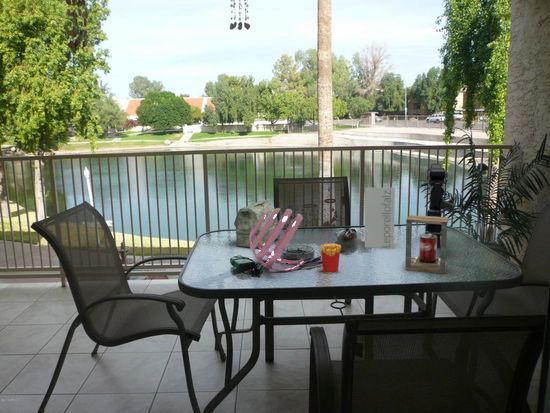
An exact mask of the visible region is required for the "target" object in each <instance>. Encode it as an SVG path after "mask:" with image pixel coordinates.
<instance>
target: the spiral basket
mask: <svg viewBox="0 0 550 413" xmlns="http://www.w3.org/2000/svg"><path fill="white" fill-rule="evenodd" d="M280 211H281V208H279V207H276V208H275V210H274V211H273V213H272V214H271V216H270V217H269V219H268V220H267V222H266V224H265V225H264V227H263V228H262V230H261V231H260V233H259V234H258V236H257V237H256V236H255V233H256V231H257V230H258V228H259V226H260V225H261V223H262V222H263V220H264V219H265V217H266V216H267V214H268V212H269V211H267V212H265V213H264V214H263V215H262V217H261V218H260V220H259V221H258V223H257V224H256V226H255V228H254V227H253V228H252V229H251V231H250V236H249V240H250V247H249V248H250V251H251V253H252V254H253V256H254V258H255V260H256V262H258V263H260V265H262V266H263V267H264V268H266V269H267V270H271V271H275V272H282V271H283V272H291V271H293V270H295V269H297V268H299V267H300V266H302V265H303V264H304V262H305V259H303V258H302V259H298V260H288V259H284V258H282V257H281V255H282V254H283V252H284V251H285V249H286V247H287V246H288V245H289V243H290V241H291V240H292V238H293V236H294V235H295V233H296V232H297V230H298V228H299V227H300V224H301V223H302V221H303V219H304V218H303V215H302V214H300V213H297V214H296V215H295V217H294V218H293V219H292V221H291V222H290V224H289V225H288V226H287V228H286V229H285V230H284V233H282V235H281V237H280V238H279V240H278V242H277V243H276V245H275V246H274V248H273V250H272V251H269V250H270V248H271V247H272V245H273V244H274V243H275V241H276V240H277V239H278V238H277V236H278V235H279V236H280V233H281V232H282V230H283V229H284V227H285V225H286V223H288V222H287V221H288V220H290V217H291V215H292V213H293V209H291V208H286V210H285V211H284V212H283V214H282V215H281V216H280V218H279V220H278V223H277V224H276V226H275V227H274V229H273V230H272V232H271V233H270V235H269V237H268V238H267V240H266V241H265V243H264V244H263V245H261V244H260V241H261V239H262V237H263V236H264V234H265V233H266V231H267V230H268V228H269V227H270V225H271V224H272V222H273V220H274V219H275V217H276V216H277V217H278V215H279V212H280ZM252 237H253V239H254V242H253V244H252ZM276 238H277V239H276ZM256 247H258V248H256ZM255 249H258V250H259V251H258V253H256V251H255ZM265 256H267V257H266V258H267V260H266V261H265V262H264V261H263V258H264V257H265ZM276 262H277V263H282V264H286V263H288V264H289V265H291V264H292V265H293V264H297V265H295V266H292V267H290V268H281V269H280V268H276V267H274V265H275V264H276Z"/></svg>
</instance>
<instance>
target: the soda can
mask: <svg viewBox="0 0 550 413" xmlns="http://www.w3.org/2000/svg"><path fill="white" fill-rule="evenodd" d="M418 245H419V248H418V249H419V251H418V253H419V254H418V256H419V261H420V263H429V264H435V263H436V258H437V255H438V254H437V251H438V248H437V237H436V236H435V235H431V234H425V233H423V234H421V235H420V236H419V244H418Z"/></svg>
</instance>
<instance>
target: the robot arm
mask: <svg viewBox="0 0 550 413" xmlns="http://www.w3.org/2000/svg"><path fill="white" fill-rule="evenodd" d="M426 181H427V186H428V187H429V197H428V199H429V200H428V201H429V205H428V209H427V211H426V216H433V217H443V213H444V211H445V210H447V211H449V212H451V213H453V212H454V211H455V208H456V206H457V205H456V203H454V200H453V199H449V200H445V197H444V195H445V189H444V184H445V185H446V184H447V182H448V172H447V170H445V168H444V167H442V164H441V163H431V164H430V167H429V168H428V169H427V170H426ZM424 229H425V230H424V234H431V235H435V236H436V237H437V249H438V248H441V230H442V224H428V223H425V228H424Z"/></svg>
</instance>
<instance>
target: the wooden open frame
mask: <svg viewBox="0 0 550 413" xmlns="http://www.w3.org/2000/svg"><path fill="white" fill-rule="evenodd" d="M405 221H406V225H405V228H406V229H405V231H406V232H405V263H404V265H405V269H404V270H405V271H411V272H421V273H422V272H423V273H431V274H432V273H433V274H441V275H442V274H443V275H446V271H447V266H448V260H447V243H448V242H447V239H448V237H447V236H448V223H449V217H448V216H441V217H433V216H427V215H413V214H410V215H408V217H407V218H406V220H405ZM413 223H415V224H426V223H428V224H442V230H441V236H440V239H441V241H440V245H441V247H440V257H436V263H435V264H429V263H420V261H419V255H417V256H415V257H412V238H413V237H412V236H413V233H412V231H413V228H412V227H413Z"/></svg>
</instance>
